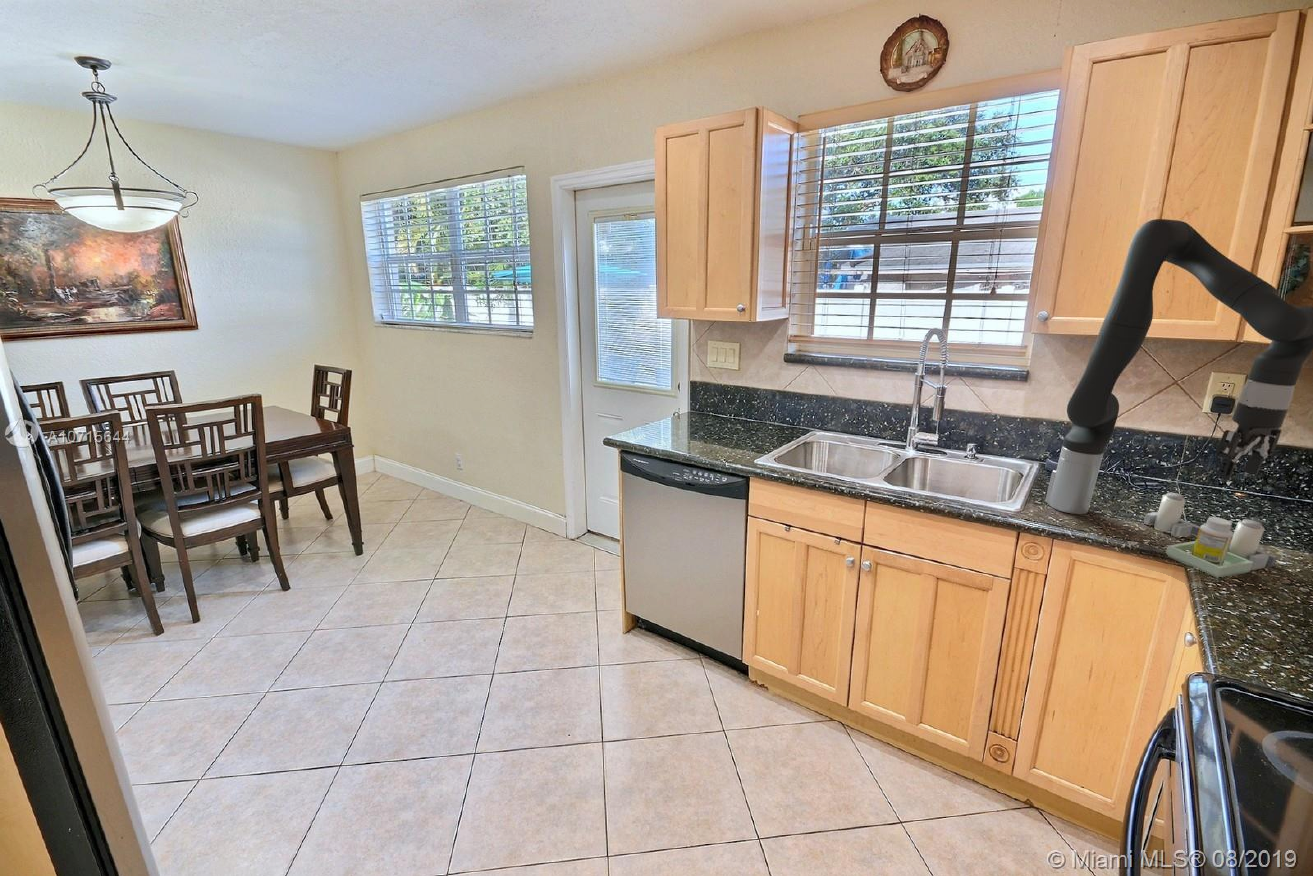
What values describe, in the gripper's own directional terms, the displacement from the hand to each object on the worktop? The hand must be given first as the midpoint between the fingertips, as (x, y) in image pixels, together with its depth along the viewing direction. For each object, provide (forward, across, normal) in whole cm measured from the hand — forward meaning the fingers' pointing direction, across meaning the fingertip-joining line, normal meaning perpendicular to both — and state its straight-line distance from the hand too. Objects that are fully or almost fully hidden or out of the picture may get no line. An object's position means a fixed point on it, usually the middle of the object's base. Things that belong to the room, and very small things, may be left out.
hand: (1237, 475), depth 128 cm
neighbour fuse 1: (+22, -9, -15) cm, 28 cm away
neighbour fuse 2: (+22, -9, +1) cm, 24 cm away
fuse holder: (+22, -11, -7) cm, 25 cm away
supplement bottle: (+22, 0, 0) cm, 22 cm away
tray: (+22, 0, 0) cm, 22 cm away
